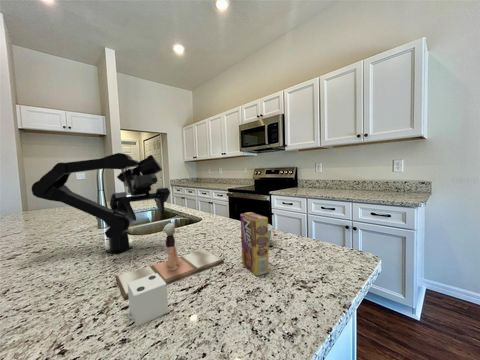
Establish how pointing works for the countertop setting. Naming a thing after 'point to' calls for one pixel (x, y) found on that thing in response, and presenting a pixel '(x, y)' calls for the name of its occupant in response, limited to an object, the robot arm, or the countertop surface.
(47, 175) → the robot arm
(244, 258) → the candy box
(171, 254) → the grandmother figurine
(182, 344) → the countertop surface
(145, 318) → the white die
